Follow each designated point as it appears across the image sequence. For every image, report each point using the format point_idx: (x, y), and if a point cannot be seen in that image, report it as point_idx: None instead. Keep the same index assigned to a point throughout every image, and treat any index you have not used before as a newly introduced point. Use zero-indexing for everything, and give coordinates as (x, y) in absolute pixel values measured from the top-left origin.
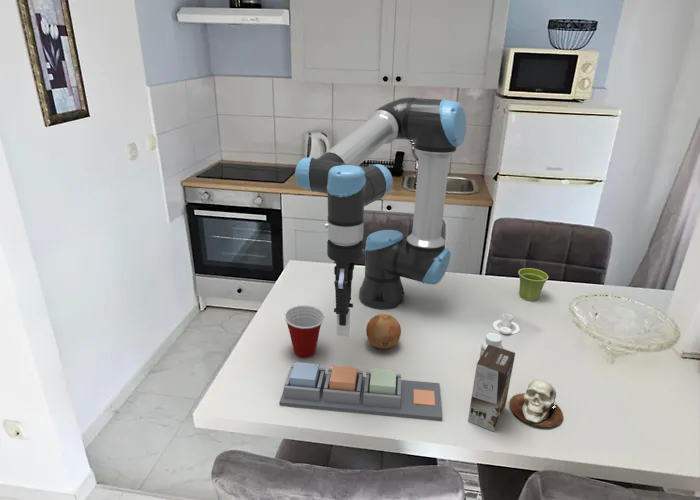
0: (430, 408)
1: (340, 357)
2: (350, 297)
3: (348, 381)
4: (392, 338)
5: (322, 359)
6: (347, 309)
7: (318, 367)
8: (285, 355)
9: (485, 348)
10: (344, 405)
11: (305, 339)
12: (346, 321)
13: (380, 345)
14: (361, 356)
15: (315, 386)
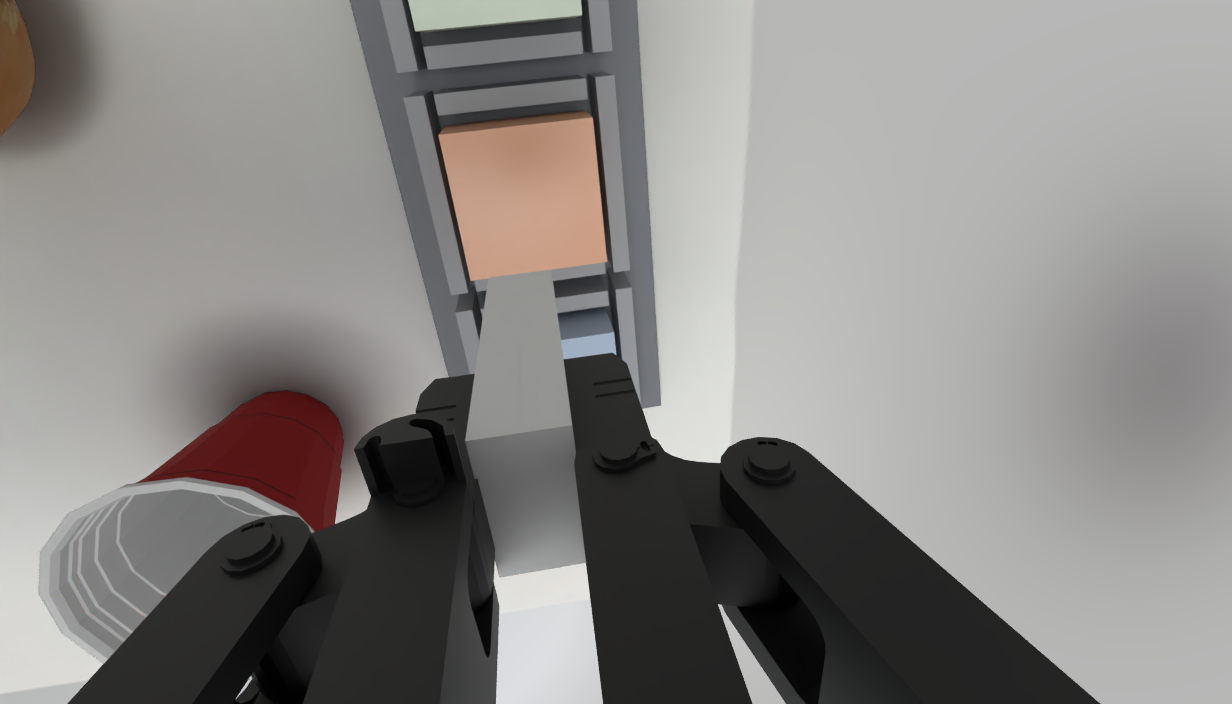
0: None
1: (245, 263)
2: (255, 571)
3: (583, 159)
4: None
5: (308, 342)
6: (768, 496)
7: None
8: (358, 488)
9: None
10: (626, 147)
11: (319, 482)
12: (566, 369)
13: (21, 24)
14: (168, 149)
15: (591, 312)
